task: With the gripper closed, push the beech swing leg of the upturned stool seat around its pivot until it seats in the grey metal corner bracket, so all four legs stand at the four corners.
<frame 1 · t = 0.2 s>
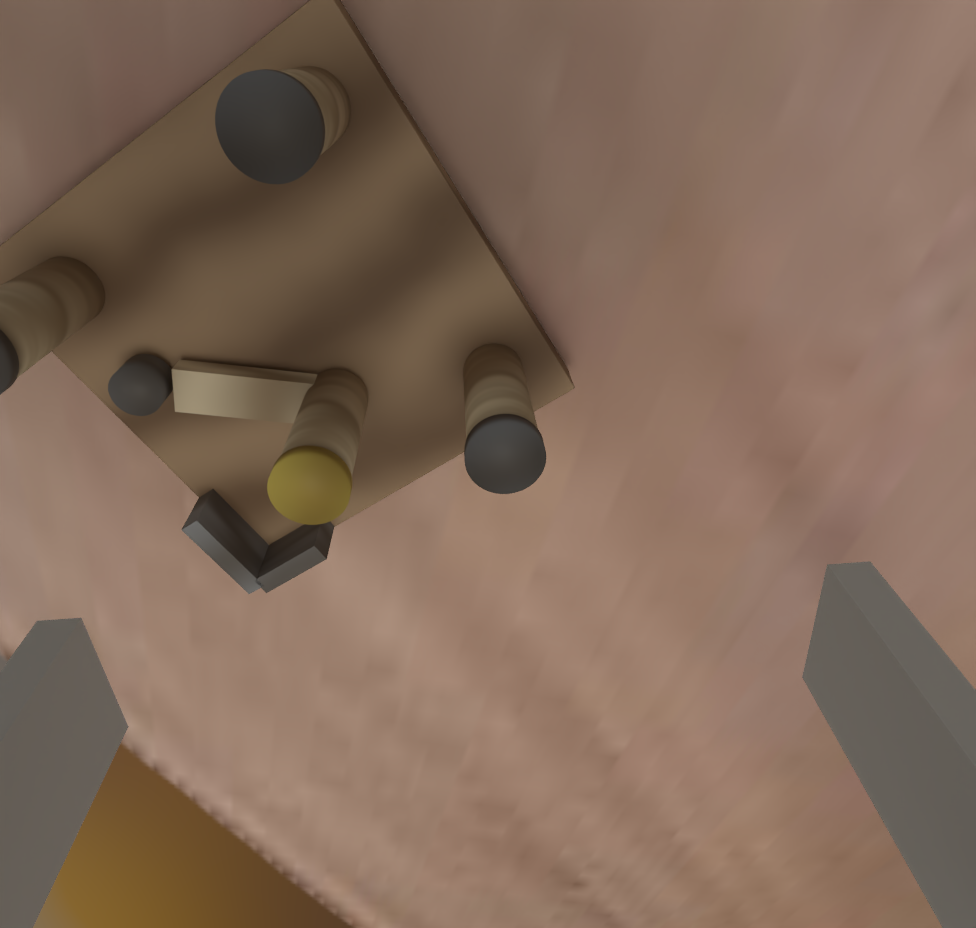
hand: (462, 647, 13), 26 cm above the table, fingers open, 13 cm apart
stool seat: (300, 315, 37), on the table
swing leg: (225, 428, 32), point 7 cm above the table, hinge at 50.0°
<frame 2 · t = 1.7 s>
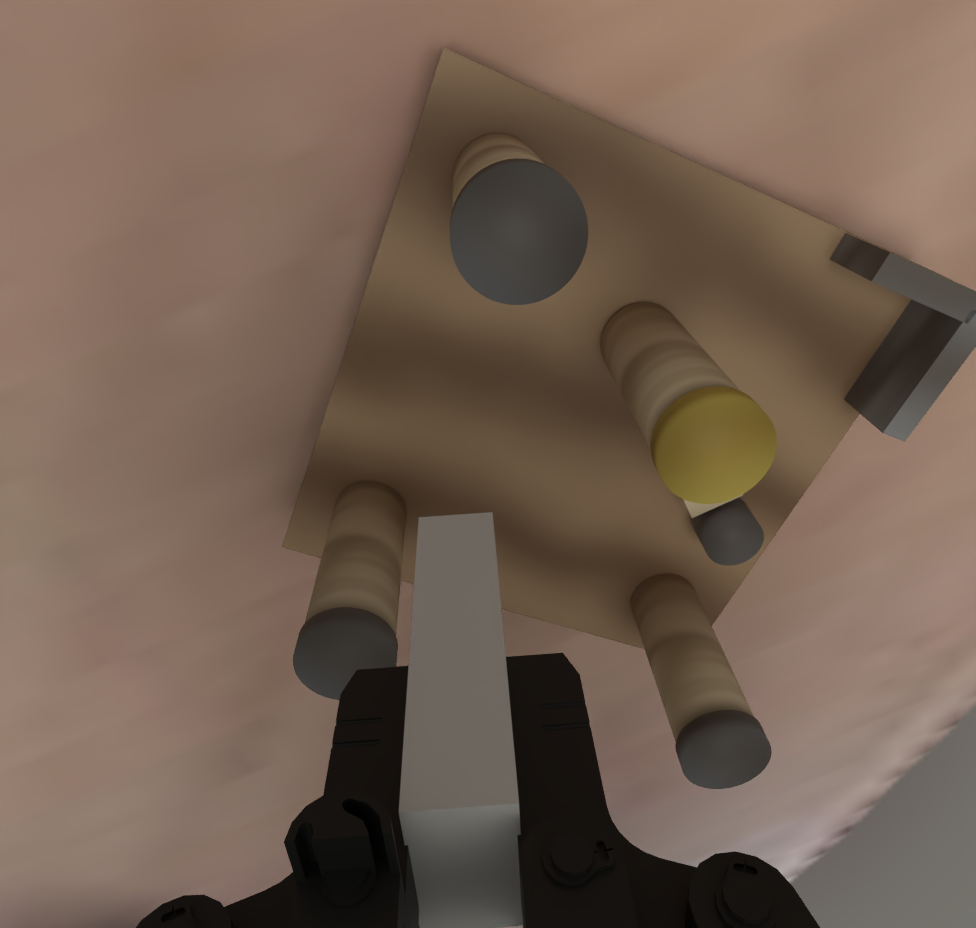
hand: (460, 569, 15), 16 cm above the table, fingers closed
stool seat: (582, 397, 31), on the table
swing leg: (716, 488, 25), point 7 cm above the table, hinge at 50.0°
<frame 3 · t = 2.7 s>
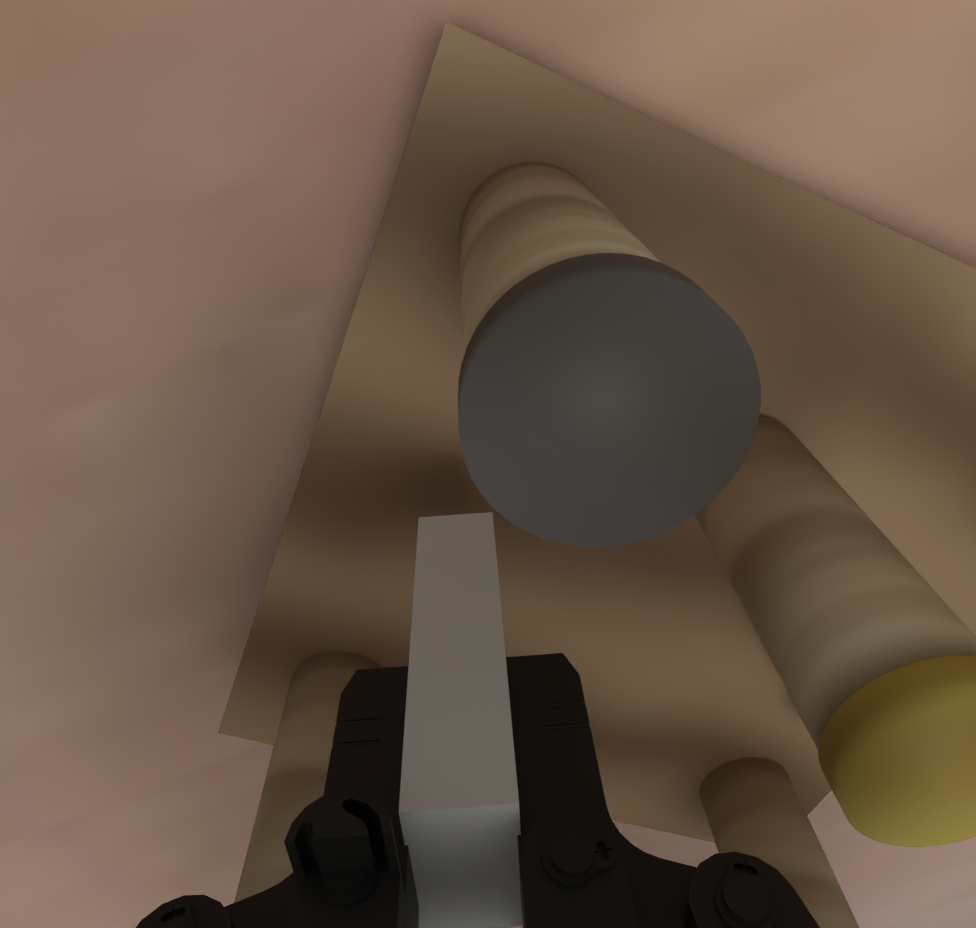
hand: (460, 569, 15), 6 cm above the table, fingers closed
stool seat: (641, 524, 22), on the table
swing leg: (870, 715, 16), point 7 cm above the table, hinge at 50.0°
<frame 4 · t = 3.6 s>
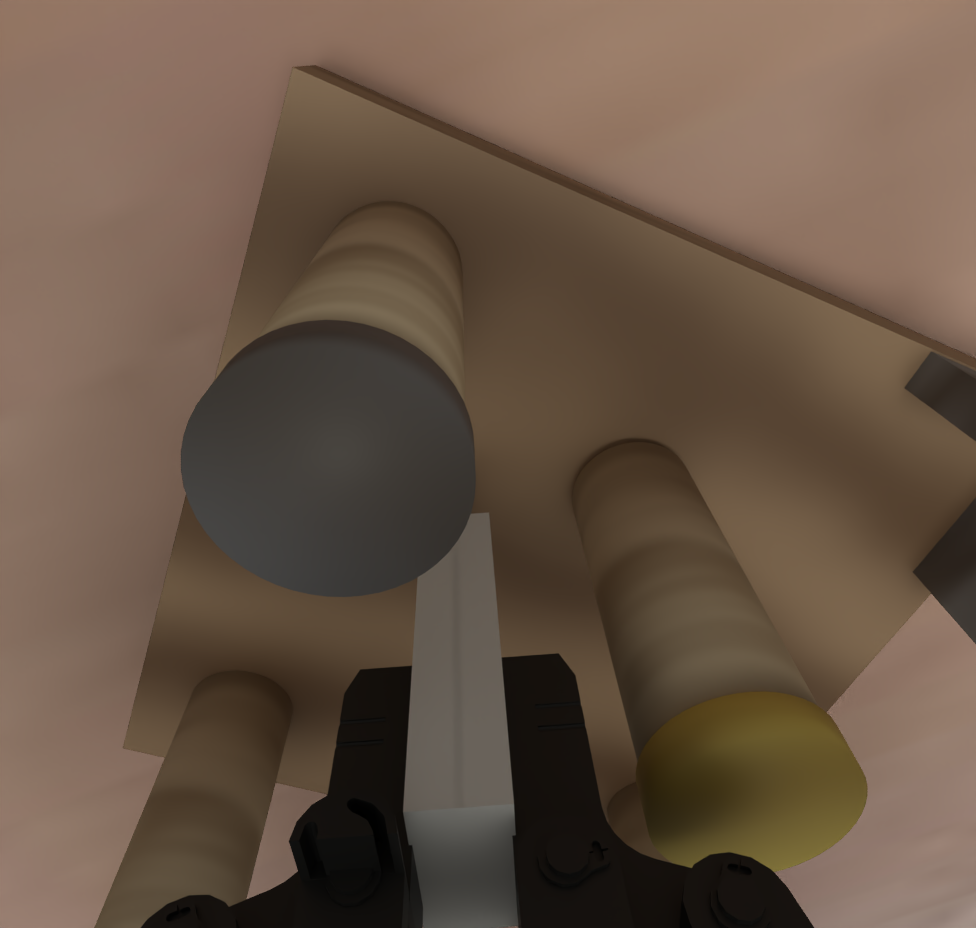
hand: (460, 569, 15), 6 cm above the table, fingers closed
stool seat: (542, 548, 22), on the table
swing leg: (736, 742, 16), point 7 cm above the table, hinge at 47.8°, touching gripper
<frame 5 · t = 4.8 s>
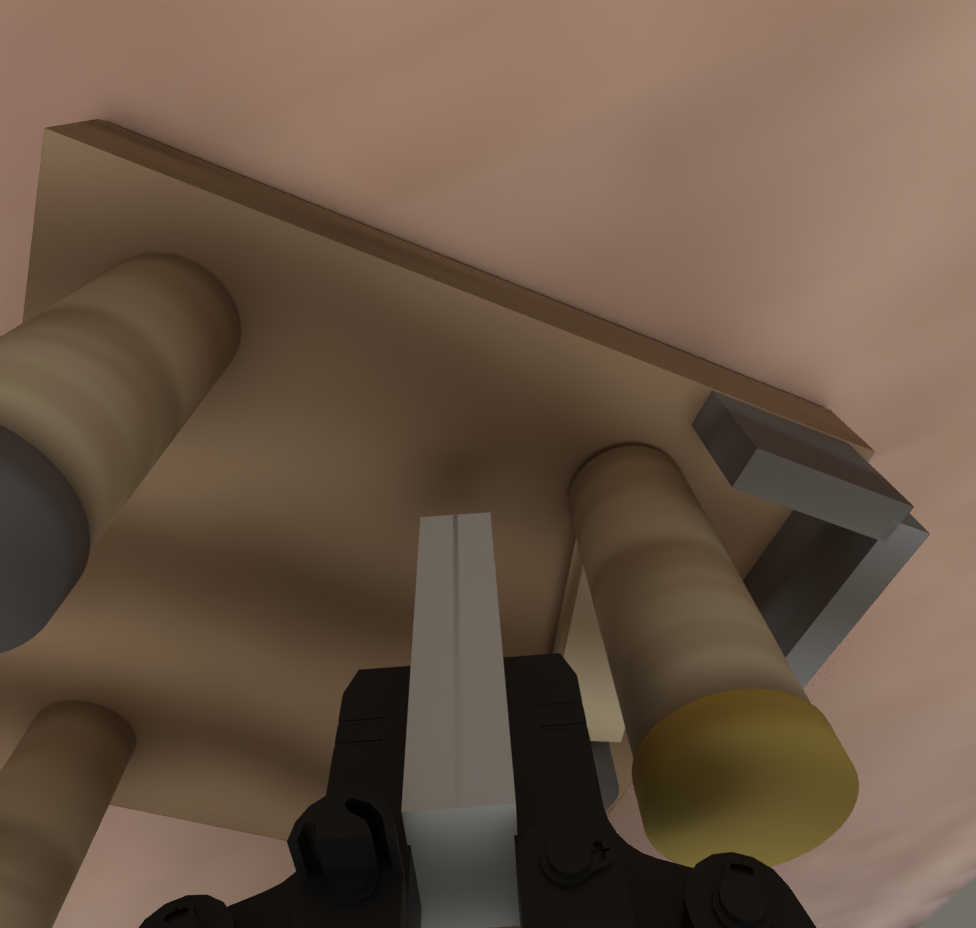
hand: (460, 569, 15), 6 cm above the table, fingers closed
stool seat: (383, 576, 23), on the table
swing leg: (629, 757, 17), point 7 cm above the table, hinge at 15.9°, touching gripper
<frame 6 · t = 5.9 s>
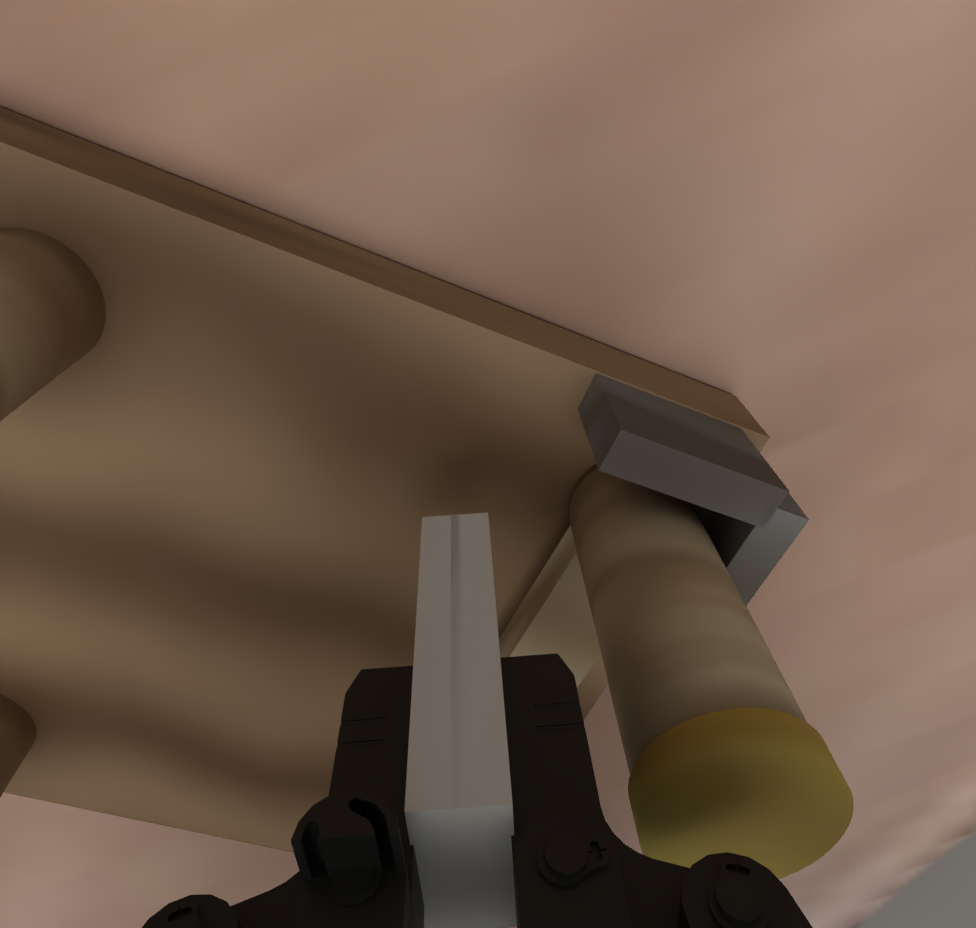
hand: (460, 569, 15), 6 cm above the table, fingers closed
stool seat: (289, 565, 23), on the table
swing leg: (569, 758, 17), point 7 cm above the table, hinge at -3.2°, touching gripper, stool seat
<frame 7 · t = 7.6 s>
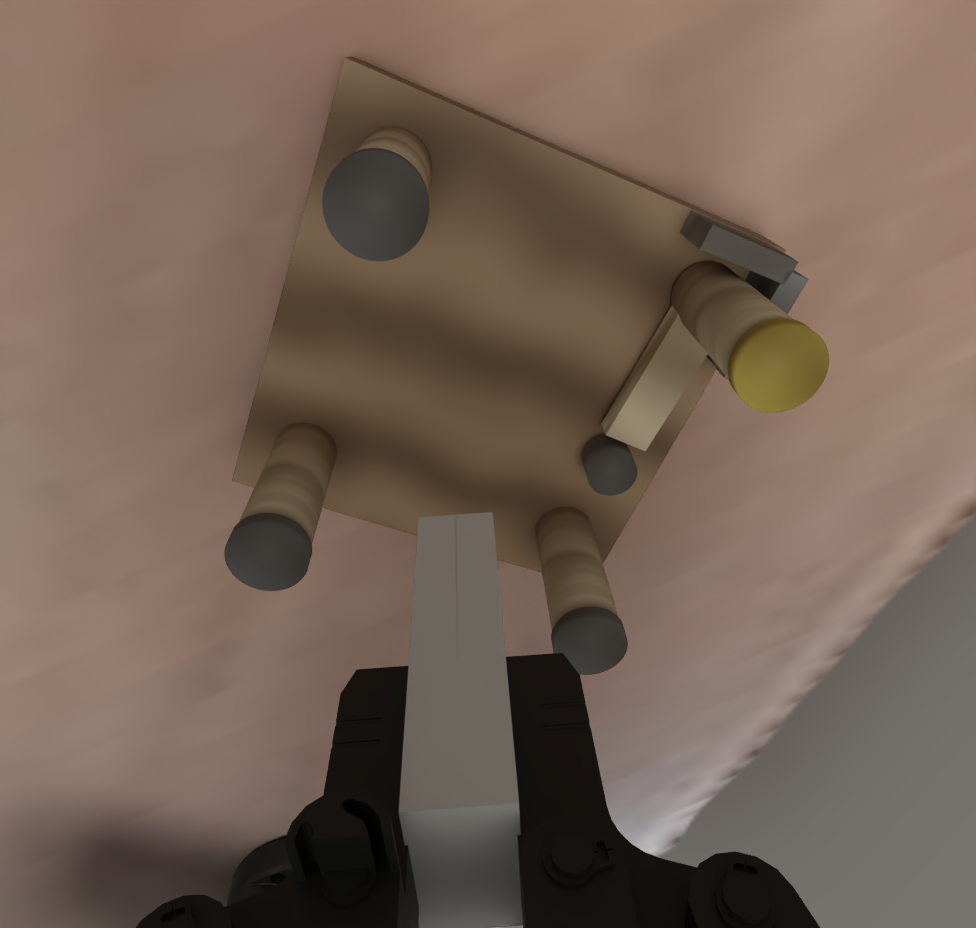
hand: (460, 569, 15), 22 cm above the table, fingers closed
stool seat: (488, 353, 37), on the table
swing leg: (679, 417, 31), point 7 cm above the table, hinge at -3.2°, touching stool seat
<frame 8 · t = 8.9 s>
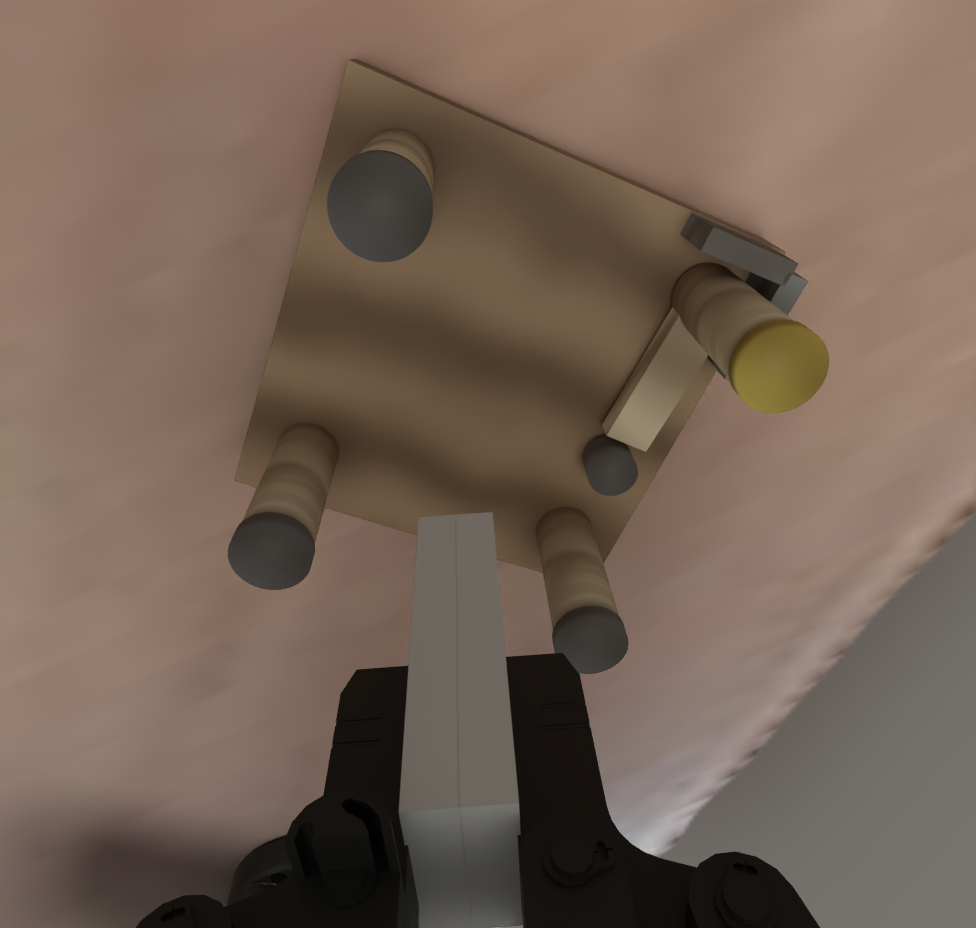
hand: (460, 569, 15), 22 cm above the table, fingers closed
stool seat: (489, 354, 37), on the table
swing leg: (680, 418, 31), point 7 cm above the table, hinge at -3.2°, touching stool seat
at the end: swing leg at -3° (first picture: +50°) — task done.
